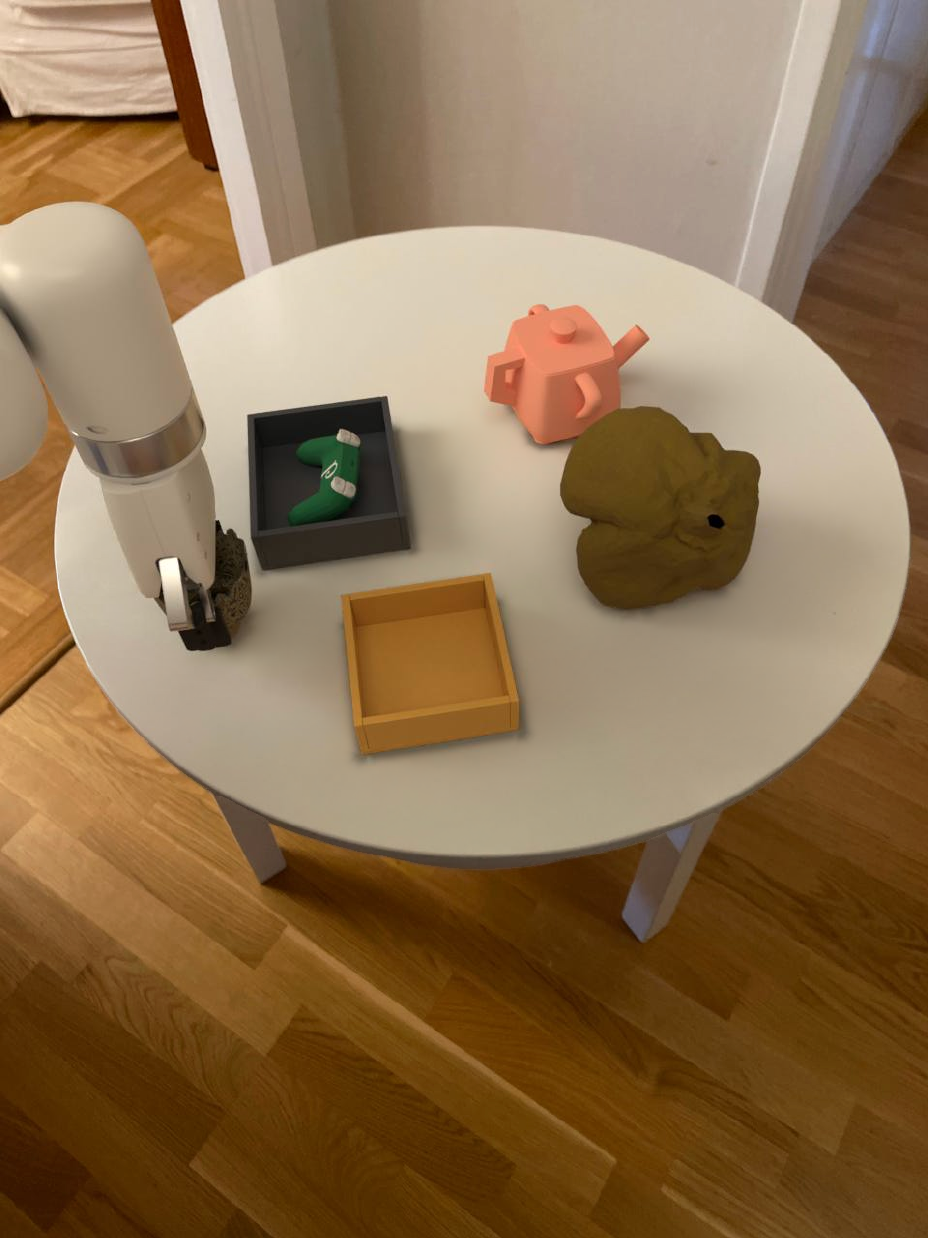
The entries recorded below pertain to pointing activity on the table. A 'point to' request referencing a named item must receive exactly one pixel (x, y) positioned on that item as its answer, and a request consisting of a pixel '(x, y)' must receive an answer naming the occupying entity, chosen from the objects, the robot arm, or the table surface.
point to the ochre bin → (428, 664)
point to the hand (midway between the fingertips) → (209, 600)
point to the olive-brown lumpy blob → (658, 508)
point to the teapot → (559, 371)
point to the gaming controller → (329, 477)
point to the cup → (226, 581)
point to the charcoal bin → (289, 482)
